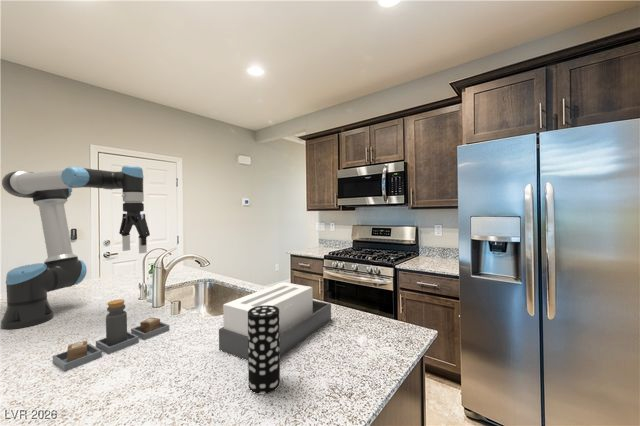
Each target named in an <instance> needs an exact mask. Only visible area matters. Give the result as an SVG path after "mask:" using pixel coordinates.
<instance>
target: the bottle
mask: <svg viewBox="0 0 640 426" xmlns="http://www.w3.org/2000/svg"><path fill="white" fill-rule="evenodd" d="M107 305H108V307H107V308H106V310H107V312H108V313H107V314H106V316H105V338H106V344H107V346H109V347H111V346H113V345H116V344H119V343H121V342H124V341H126V340H127V332H128V317H127V316H128V313H127V311H125V309H126V304H125V299H122V298H121V299H113V300H110V301H108V302H107Z"/></svg>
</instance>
